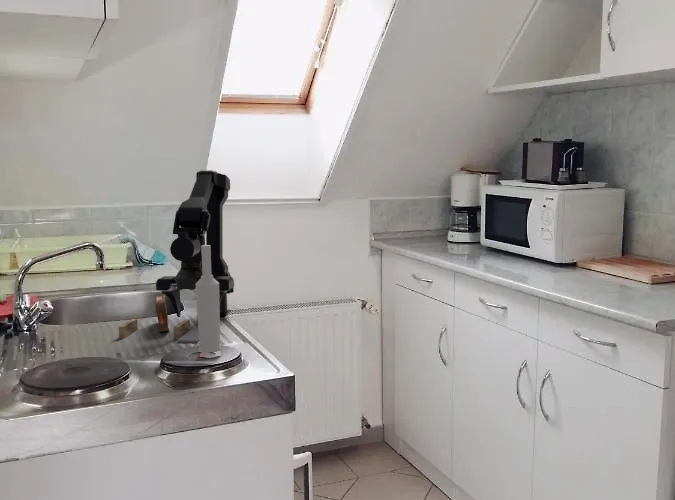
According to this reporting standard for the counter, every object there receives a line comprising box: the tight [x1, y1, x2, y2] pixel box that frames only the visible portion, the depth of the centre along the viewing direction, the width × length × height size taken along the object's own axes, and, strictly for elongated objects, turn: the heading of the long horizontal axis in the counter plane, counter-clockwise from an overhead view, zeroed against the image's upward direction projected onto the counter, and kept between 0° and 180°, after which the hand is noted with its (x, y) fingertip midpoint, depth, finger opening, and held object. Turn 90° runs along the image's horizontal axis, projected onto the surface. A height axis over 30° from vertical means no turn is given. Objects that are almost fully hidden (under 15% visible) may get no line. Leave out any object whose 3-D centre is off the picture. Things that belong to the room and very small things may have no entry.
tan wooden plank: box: [118, 318, 191, 340], centre depth 178 cm, size 9×15×3 cm, turn 84°
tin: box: [154, 294, 170, 333], centre depth 184 cm, size 15×3×8 cm, turn 14°
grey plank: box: [176, 324, 199, 344], centre depth 177 cm, size 16×5×1 cm, turn 174°
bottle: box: [195, 244, 222, 352], centre depth 156 cm, size 5×5×25 cm
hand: (196, 317), depth 176 cm, fingers open, 9 cm apart
